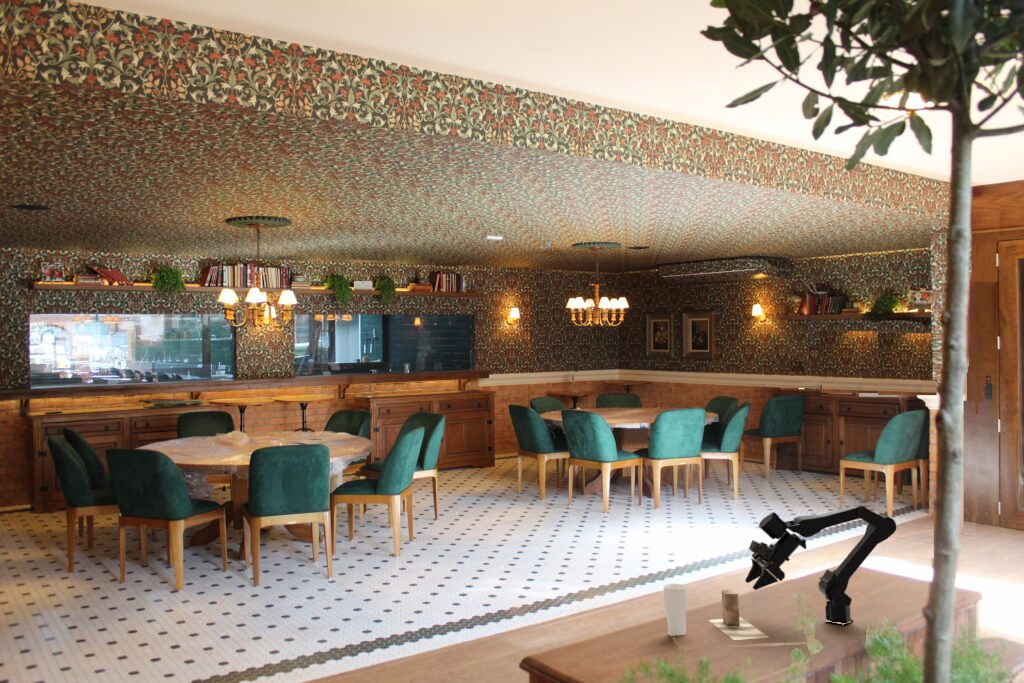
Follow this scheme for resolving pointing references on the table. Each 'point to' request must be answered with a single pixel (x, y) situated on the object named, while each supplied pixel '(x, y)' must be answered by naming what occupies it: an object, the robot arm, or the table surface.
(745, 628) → the board
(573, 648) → the table surface
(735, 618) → the block
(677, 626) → the drinking glass
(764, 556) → the robot arm
